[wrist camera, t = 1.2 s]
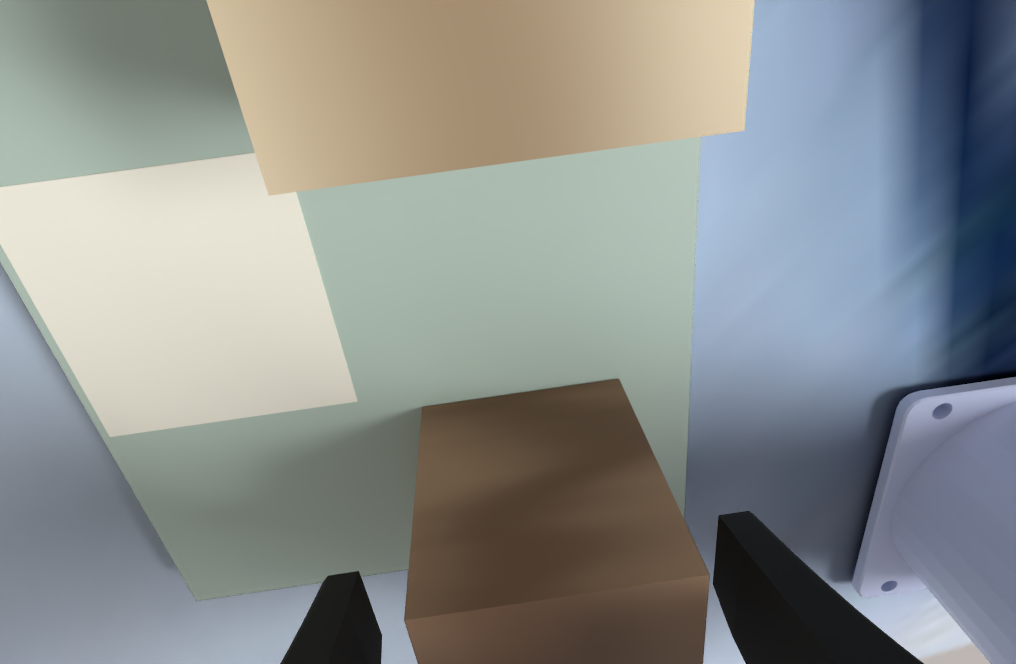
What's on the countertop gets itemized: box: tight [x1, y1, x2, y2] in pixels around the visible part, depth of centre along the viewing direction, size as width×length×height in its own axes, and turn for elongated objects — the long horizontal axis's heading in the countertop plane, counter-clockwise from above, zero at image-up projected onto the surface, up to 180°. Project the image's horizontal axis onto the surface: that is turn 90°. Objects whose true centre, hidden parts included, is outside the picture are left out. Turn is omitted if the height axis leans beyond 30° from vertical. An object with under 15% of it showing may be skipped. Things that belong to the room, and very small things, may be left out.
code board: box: [0, 0, 701, 601], centre depth 12 cm, size 14×17×1 cm
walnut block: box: [404, 379, 710, 664], centre depth 12 cm, size 5×5×5 cm
